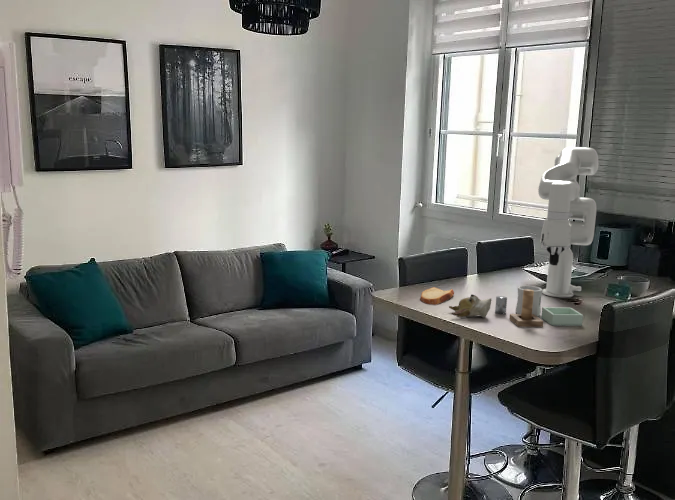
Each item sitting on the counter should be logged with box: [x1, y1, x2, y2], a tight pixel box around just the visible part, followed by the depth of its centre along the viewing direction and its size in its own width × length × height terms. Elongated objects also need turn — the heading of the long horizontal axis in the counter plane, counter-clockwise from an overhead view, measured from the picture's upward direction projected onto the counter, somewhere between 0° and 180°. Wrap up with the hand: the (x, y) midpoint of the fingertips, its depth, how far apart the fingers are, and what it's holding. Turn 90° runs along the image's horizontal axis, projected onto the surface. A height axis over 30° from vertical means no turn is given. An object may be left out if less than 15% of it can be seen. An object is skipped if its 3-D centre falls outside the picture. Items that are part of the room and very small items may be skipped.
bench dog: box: [494, 295, 508, 315], centre depth 248 cm, size 4×4×6 cm
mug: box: [515, 285, 543, 317], centre depth 249 cm, size 12×9×10 cm
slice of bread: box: [420, 286, 455, 306], centre depth 268 cm, size 18×18×4 cm
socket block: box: [509, 313, 544, 328], centre depth 236 cm, size 9×9×2 cm
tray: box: [540, 306, 584, 327], centre depth 239 cm, size 11×10×4 cm
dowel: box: [521, 289, 534, 320], centre depth 235 cm, size 4×4×12 cm
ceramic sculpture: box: [448, 294, 492, 318], centre depth 242 cm, size 11×9×15 cm
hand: (553, 264), depth 247 cm, fingers closed
